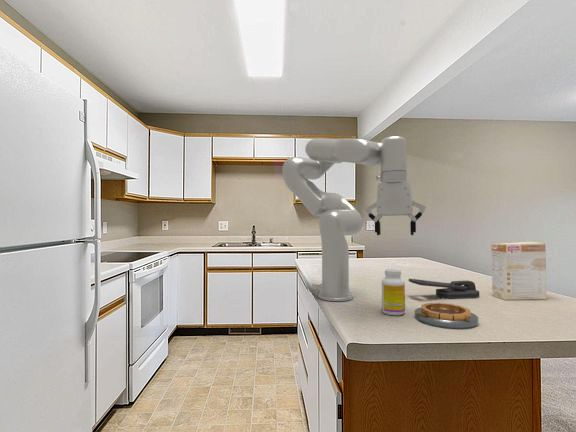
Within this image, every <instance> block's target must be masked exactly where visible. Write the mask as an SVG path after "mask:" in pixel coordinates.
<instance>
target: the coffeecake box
mask: <svg viewBox="0 0 576 432" xmlns="http://www.w3.org/2000/svg"><path fill="white" fill-rule="evenodd" d="M546 256H547V255H546V243H545V242H544V243H543V242H536V241H525V242H524V241H520V242H519V241H518V242H517V241H516V242H514V241H511V242H507V241H506V242H491V284H492V285H491V288H492V289H491V292H492V297H495V298H499V299H501V300H504V301H510V300H511V301H515V300H517V301H521V300H526V301H527V300H547V271H546V270H547V269H546V268H547V267H546V266H547V265H546V264H547V263H546V262H547V261H546Z"/></svg>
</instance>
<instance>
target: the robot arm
mask: <svg viewBox="0 0 576 432" xmlns="http://www.w3.org/2000/svg"><path fill="white" fill-rule="evenodd" d="M304 151H305V153H306V156H307V157H302V156H301V157H299V156H292V157H289V158H287V159H286V160H285V161H284V162H283V164H282V165H283V166H282V177H283V180H284V183H285V186H286V187H287V188H288V189H289V191H291V193H293V195H295V197H297V198H298V200H299V201H300V202H301V203H302V205H304V207H305V208H306V209H307V210H308V212H309V213H310V214H311V215H312V216H314V217H319V219H318V228H319V234H320V240H321V283H320V284H315V283H312V284H311V285H310V286H311V290H312V291H318V293H317V297H318V298H319V300H320V299H321V300H323V301H326V302H327V301H329V302H346V301H351V300H354V294H353V292H350V285H349V284H350V275H349V274H350V269H349V267H350V266H349V264H350V262H349V260H350V259H349V257H350V256H349V255H350V254H349V253H350V252H349V245H348V244H349V243H348V241H347V239H346V237H345V236H353V235H356V234H358V233H359V232H360V231H362V229H363V225H364V222H363V218H362V216H361V214H360V212H359V211H358V210H357V209H356V208H355V206H353V205H352V204H351V203H350V202H349V201H348V200H347V199H346V198H345V197H344V196H342V195H341V194H339V193H336V192H326V191H323V190H322V189H320V188H319V187H317V185H316V184H315V183H314V182H313V181H311V180H317V179H320V178H322V177H323V176H324V175H325V174H326V173H327V172H328V171H329V170H330V169H331V168H332V167H333V166H334V165H335V164H341V163H343V162H344V163H350V164H358V165H365V166H370V167H380V174H378V175H375V180H376V181H380V183H378V184H377V192H376V202H374V203H372V204H371V205H369V206H367V207H366V208H365V209H364V210H365V212H366V214H367V215H368V217H369V218H370V220H371V221H373V222H374V233H376V236H380V235H381V232H382V231H381V230H382V229H381V221H380V220H381V219H382V217H383V216H384V217H388V216H389V217H390V216H391V217H393V216H394V217H395V216H396V217H397V216H407V217H408V218H409V220H410V229H409V230H410V235H411V236H414V235H415V233H417V223H416V222H417V221H418V220H419V219H420V218H421V217H422V216H423V213H424V212H425V210H426V206H425V205H423V204H421V203H418V202H416V201H415V200H413V194H412V187H411V183H410V181H408V165H407V164H408V162H407V159H408V158H407V140H406V138H405V137H403V136H398V135H396V136H395V135H393V136H387V137H384V138H383V139H381V141H380V142H378V141H376V142H375V141H372V140H368V139H363V138H348V137H347V138H346V137H345V138H320V137H319V138H318V137H317V138H313V139H310V140H309V141H307V143H306V145H305V150H304ZM414 207H415V208H418V212H417V213H416V214H415V215H414V214H413V208H414ZM374 209H376V213H377V214H376V215H375V214H374V213H372V212H373V211H372V210H374Z"/></svg>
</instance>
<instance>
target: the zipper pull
mask: <svg viewBox="0 0 576 432" xmlns="http://www.w3.org/2000/svg"><path fill="white" fill-rule="evenodd" d="M408 282H409V283H411V284H415V285H418V286H423V287H424V286H425V287H436V289H435V296H436V298H437V297H438V298H440V299H446V300H469V299H478V298H480V291H479V290H477V289H476V283H475V282H474V281H472V280H454V281H453V280H452V281H451V282H441V281H435V280H433V281H432V280H425V279H416V278H408Z"/></svg>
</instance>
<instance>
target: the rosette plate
mask: <svg viewBox="0 0 576 432" xmlns="http://www.w3.org/2000/svg"><path fill="white" fill-rule="evenodd" d="M414 319H416V320H417V321H418V322H420V323H422V324H425V325H427V326H428V325H429V326H432V327H435V328H436V327H437V328H441V329H442V328H443V329H448V330H449V329H452V330H469V329H473V328H476V327H479V316H478V315H477V314H475V313H473V312H471V309H469V308H467V307H465V306H462V305H458V304H454V303H453V304H452V303H447V302H446V303H445V302H428V303H427V302H426V303H423V304H421V305H420V307H417V308H416V309H414Z"/></svg>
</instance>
